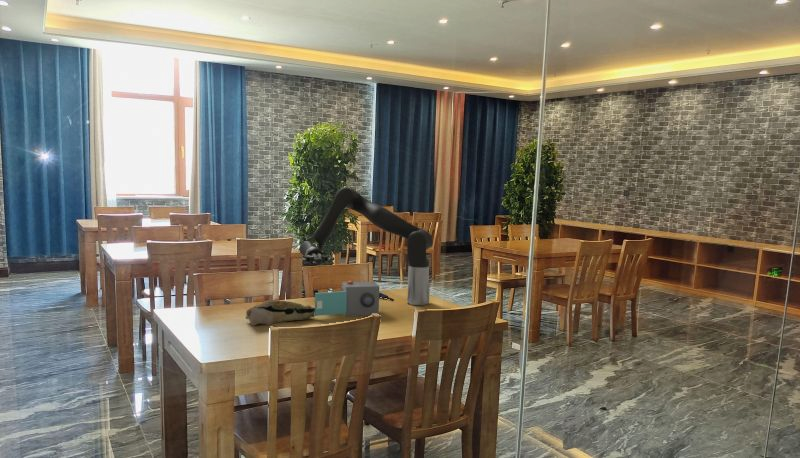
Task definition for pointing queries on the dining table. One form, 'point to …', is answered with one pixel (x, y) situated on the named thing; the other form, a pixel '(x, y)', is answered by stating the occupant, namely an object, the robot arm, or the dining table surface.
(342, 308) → the door
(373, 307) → the camera box
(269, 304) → the mineral
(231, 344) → the dining table surface
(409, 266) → the robot arm
